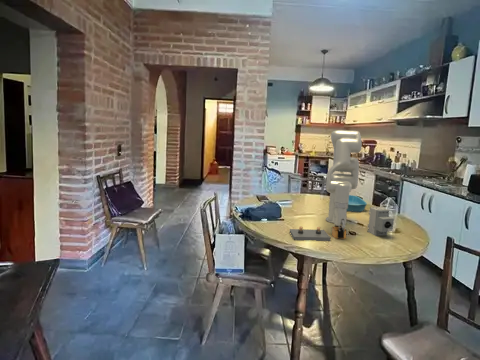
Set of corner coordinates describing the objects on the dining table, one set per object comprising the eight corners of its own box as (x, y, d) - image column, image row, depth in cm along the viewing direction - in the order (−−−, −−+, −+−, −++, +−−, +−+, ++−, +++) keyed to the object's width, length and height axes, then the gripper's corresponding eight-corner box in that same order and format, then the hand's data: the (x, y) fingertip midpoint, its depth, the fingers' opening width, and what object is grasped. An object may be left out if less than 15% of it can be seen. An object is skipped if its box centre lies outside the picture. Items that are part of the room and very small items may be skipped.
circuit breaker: (382, 239, 195) (385, 213, 193) (367, 231, 209) (369, 207, 207) (393, 238, 197) (396, 212, 195) (377, 231, 211) (380, 206, 209)
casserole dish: (369, 214, 253) (370, 204, 252) (338, 212, 254) (339, 203, 253) (355, 202, 289) (356, 194, 288) (328, 201, 290) (329, 193, 289)
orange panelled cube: (331, 234, 200) (332, 226, 200) (342, 235, 201) (342, 226, 200) (334, 238, 194) (335, 229, 194) (345, 238, 195) (346, 229, 194)
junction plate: (289, 232, 203) (290, 223, 202) (323, 233, 203) (324, 224, 202) (293, 240, 189) (294, 230, 188) (330, 241, 189) (331, 231, 189)
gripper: (330, 201, 203) (327, 231, 206) (339, 208, 186) (336, 240, 189) (342, 201, 203) (340, 231, 206) (353, 208, 186) (350, 241, 189)
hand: (338, 235), depth 197 cm, fingers open, 6 cm apart
